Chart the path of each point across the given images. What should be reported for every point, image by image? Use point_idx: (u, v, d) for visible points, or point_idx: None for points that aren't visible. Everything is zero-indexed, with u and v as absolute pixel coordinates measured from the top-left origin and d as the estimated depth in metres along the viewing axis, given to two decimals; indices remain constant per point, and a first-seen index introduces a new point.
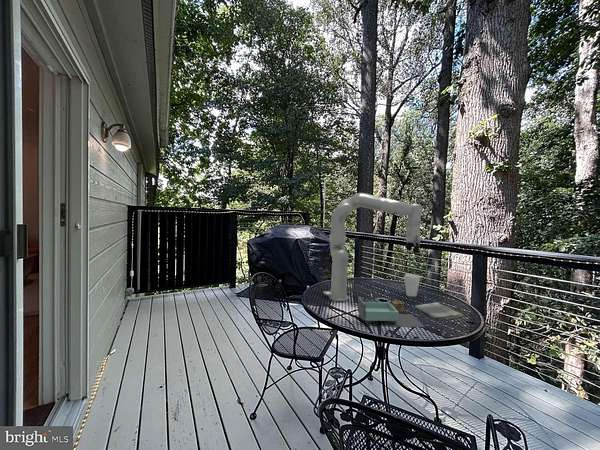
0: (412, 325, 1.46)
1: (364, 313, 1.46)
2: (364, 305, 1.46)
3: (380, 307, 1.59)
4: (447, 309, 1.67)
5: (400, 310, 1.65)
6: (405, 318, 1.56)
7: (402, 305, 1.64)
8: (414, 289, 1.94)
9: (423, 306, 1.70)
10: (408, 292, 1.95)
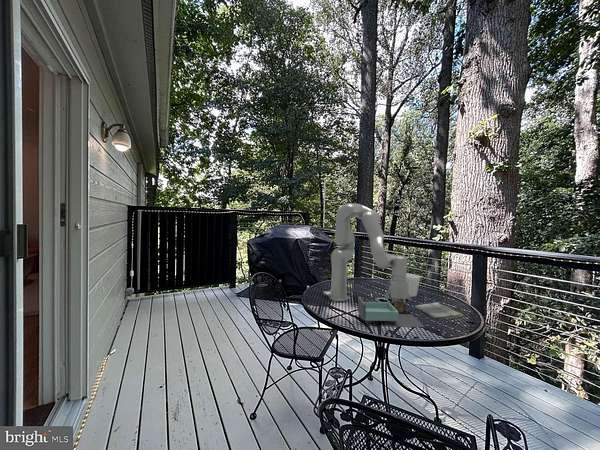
0: (412, 325, 1.46)
1: (364, 313, 1.46)
2: (364, 305, 1.46)
3: (380, 307, 1.59)
4: (447, 309, 1.67)
5: (400, 310, 1.65)
6: (405, 318, 1.56)
7: (402, 305, 1.64)
8: (414, 289, 1.94)
9: (423, 306, 1.70)
10: None
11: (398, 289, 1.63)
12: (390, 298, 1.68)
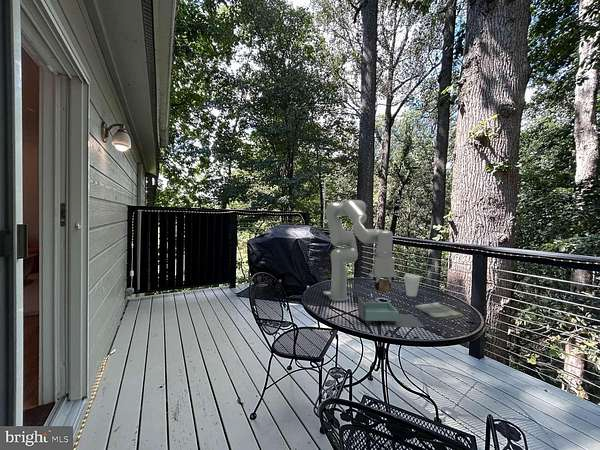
0: (412, 325, 1.46)
1: (364, 313, 1.46)
2: (364, 305, 1.46)
3: (380, 307, 1.59)
4: (447, 309, 1.67)
5: (385, 289, 1.51)
6: (405, 318, 1.56)
7: (388, 284, 1.51)
8: (414, 289, 1.94)
9: (423, 306, 1.70)
10: (408, 292, 1.95)
11: (383, 266, 1.50)
12: (375, 277, 1.54)
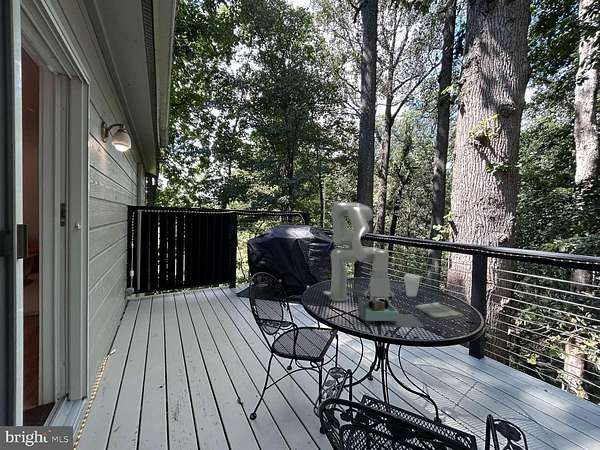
0: (412, 325, 1.46)
1: (364, 313, 1.46)
2: (364, 305, 1.46)
3: None
4: (447, 309, 1.67)
5: None
6: (405, 318, 1.56)
7: (383, 306, 1.50)
8: (414, 289, 1.94)
9: (423, 306, 1.70)
10: (408, 292, 1.95)
11: (379, 286, 1.49)
12: None
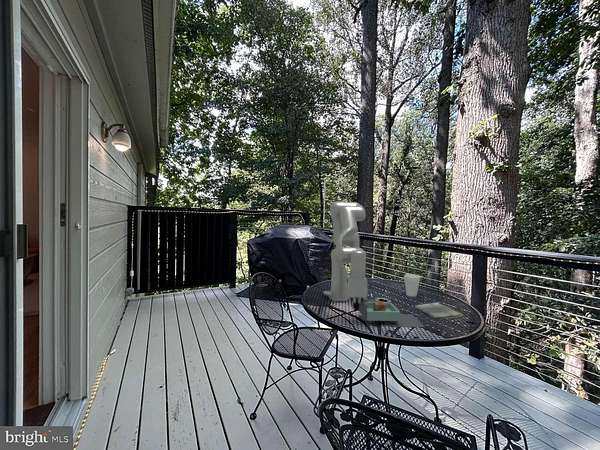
0: (412, 325, 1.46)
1: (365, 313, 1.46)
2: (365, 305, 1.46)
3: None
4: (447, 309, 1.67)
5: None
6: (405, 318, 1.56)
7: (384, 306, 1.50)
8: (414, 289, 1.94)
9: (423, 306, 1.70)
10: (408, 292, 1.95)
11: (356, 287, 1.48)
12: None
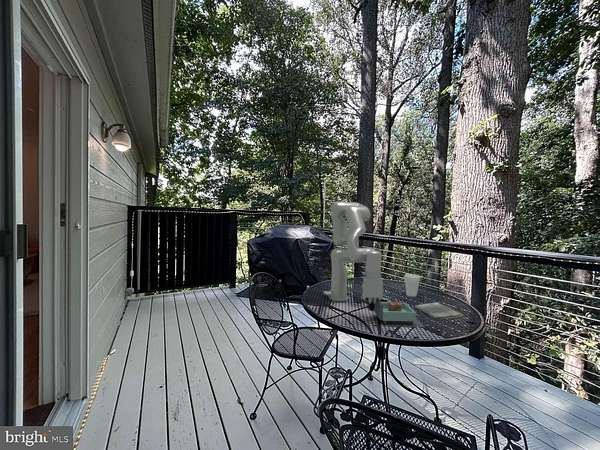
0: (412, 325, 1.46)
1: (381, 313, 1.46)
2: (381, 305, 1.46)
3: None
4: (447, 309, 1.67)
5: None
6: None
7: (400, 306, 1.50)
8: (414, 289, 1.94)
9: (423, 306, 1.70)
10: (408, 292, 1.95)
11: (371, 287, 1.49)
12: None
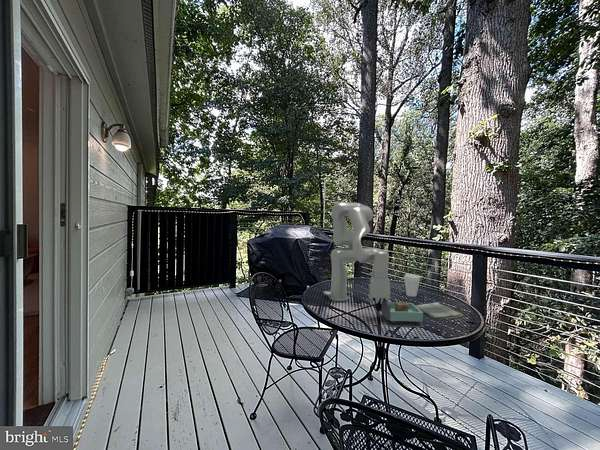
0: (412, 325, 1.46)
1: (389, 313, 1.47)
2: (389, 306, 1.46)
3: None
4: (447, 309, 1.67)
5: None
6: None
7: (407, 306, 1.50)
8: (414, 289, 1.94)
9: (423, 306, 1.70)
10: (408, 292, 1.95)
11: (379, 287, 1.49)
12: None
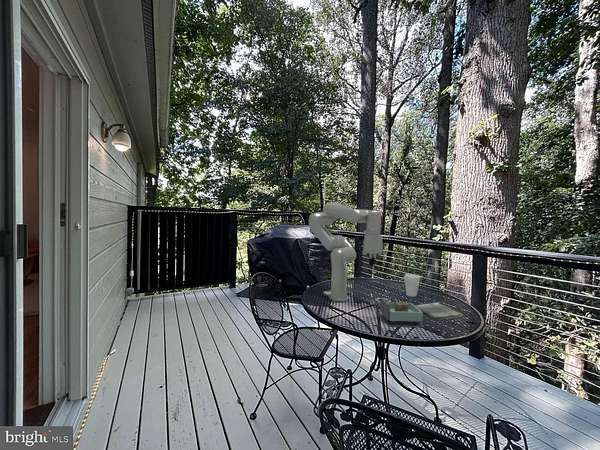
0: (412, 325, 1.46)
1: (388, 313, 1.47)
2: (388, 306, 1.46)
3: None
4: (447, 309, 1.67)
5: None
6: None
7: (407, 306, 1.50)
8: (414, 289, 1.94)
9: (423, 306, 1.70)
10: (408, 292, 1.95)
11: (372, 243, 1.63)
12: None
